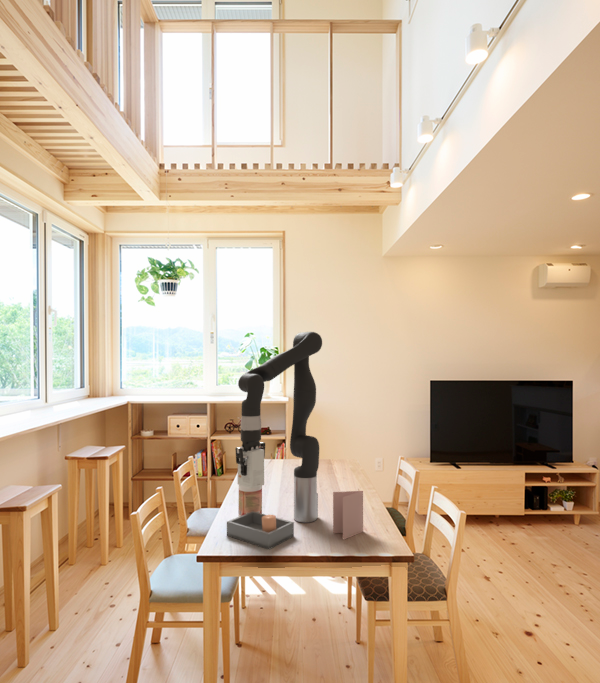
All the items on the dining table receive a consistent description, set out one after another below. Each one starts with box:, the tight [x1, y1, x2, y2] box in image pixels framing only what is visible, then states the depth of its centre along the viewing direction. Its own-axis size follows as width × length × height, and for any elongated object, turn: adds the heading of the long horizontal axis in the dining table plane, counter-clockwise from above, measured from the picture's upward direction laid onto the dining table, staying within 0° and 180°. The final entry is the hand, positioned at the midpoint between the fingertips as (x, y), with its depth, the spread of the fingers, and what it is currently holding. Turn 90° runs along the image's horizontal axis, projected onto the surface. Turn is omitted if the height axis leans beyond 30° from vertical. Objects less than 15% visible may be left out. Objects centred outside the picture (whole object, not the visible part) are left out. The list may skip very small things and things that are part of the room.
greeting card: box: [332, 490, 364, 540], centre depth 165 cm, size 11×7×15 cm, turn 98°
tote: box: [226, 511, 295, 550], centre depth 164 cm, size 14×20×5 cm
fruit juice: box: [237, 485, 263, 517], centre depth 182 cm, size 9×9×28 cm
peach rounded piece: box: [262, 514, 277, 533], centre depth 160 cm, size 5×5×7 cm
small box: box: [237, 449, 265, 488], centre depth 166 cm, size 8×6×13 cm
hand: (250, 473), depth 166 cm, fingers closed on small box, 6 cm apart
